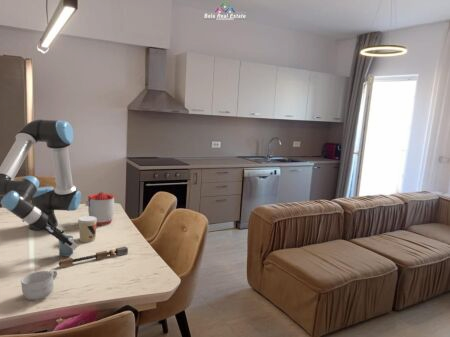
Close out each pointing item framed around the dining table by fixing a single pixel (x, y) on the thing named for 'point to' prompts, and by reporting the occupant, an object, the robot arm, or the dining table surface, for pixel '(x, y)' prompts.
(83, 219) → the coffee cup
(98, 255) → the cord rig
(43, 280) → the teacup
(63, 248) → the dome-topped knob
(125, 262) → the dining table surface
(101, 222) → the citrus juicer
